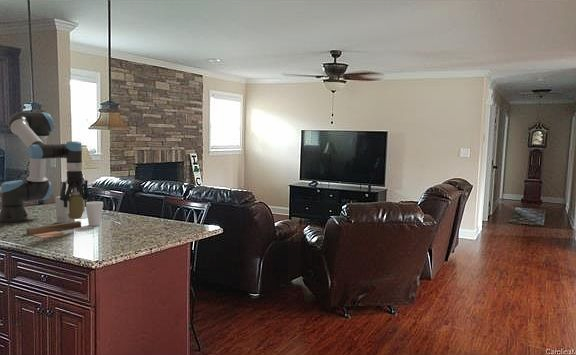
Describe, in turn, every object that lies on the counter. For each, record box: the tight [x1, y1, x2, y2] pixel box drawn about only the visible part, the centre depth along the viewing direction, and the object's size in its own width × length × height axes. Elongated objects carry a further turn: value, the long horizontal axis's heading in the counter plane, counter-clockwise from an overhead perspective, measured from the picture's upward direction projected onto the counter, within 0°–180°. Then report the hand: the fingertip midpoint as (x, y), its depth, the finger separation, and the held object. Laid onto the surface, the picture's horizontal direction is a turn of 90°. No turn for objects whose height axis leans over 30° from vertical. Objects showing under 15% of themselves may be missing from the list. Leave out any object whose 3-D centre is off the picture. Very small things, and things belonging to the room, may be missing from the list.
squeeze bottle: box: [68, 187, 84, 220], centre depth 255 cm, size 8×8×18 cm
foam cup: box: [85, 201, 104, 227], centre depth 272 cm, size 10×9×13 cm
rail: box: [26, 220, 82, 240], centre depth 252 cm, size 16×28×3 cm, turn 142°
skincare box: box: [54, 195, 76, 224], centre depth 276 cm, size 8×7×16 cm
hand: (75, 212), depth 255 cm, fingers closed on squeeze bottle, 8 cm apart
